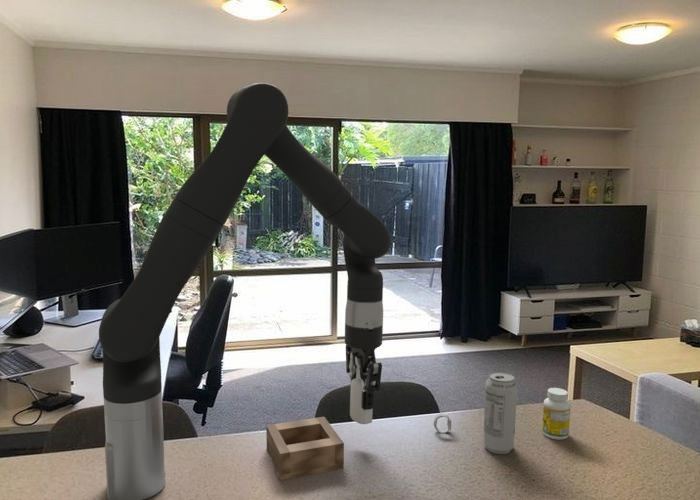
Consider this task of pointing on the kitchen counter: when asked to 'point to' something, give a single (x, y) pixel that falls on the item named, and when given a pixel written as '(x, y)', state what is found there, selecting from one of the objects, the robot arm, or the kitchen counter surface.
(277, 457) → the socket block
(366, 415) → the eye dropper bottle
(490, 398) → the energy drink can
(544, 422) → the supplement bottle
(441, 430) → the smartwatch
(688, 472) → the kitchen counter surface
